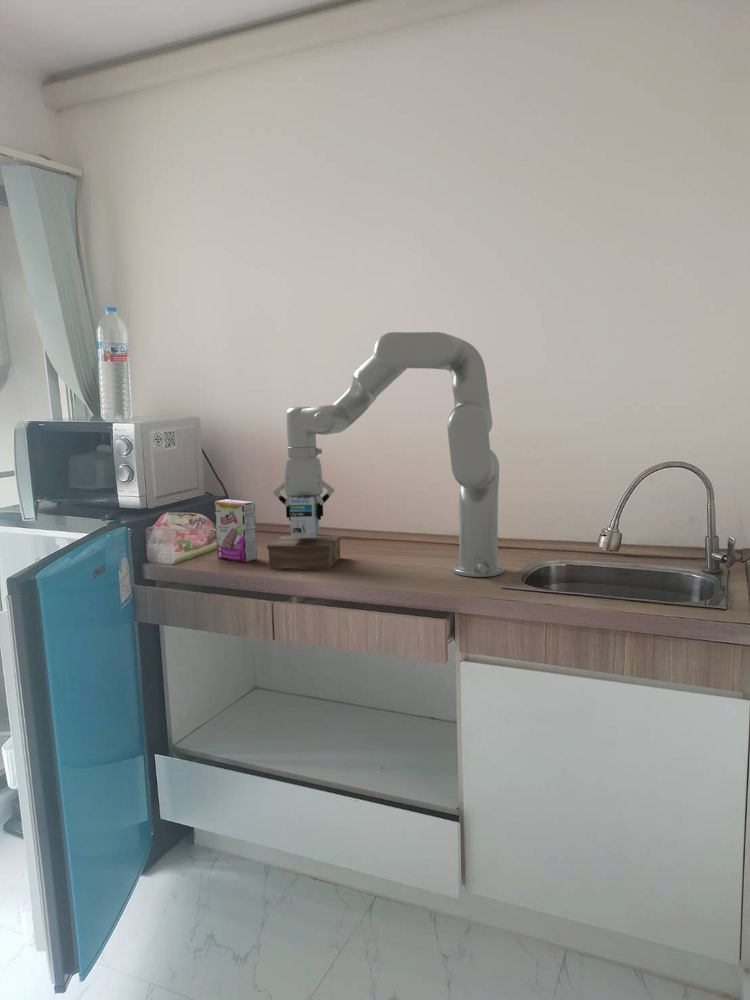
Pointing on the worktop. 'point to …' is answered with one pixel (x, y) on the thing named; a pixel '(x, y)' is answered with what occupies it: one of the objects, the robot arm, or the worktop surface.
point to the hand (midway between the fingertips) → (304, 519)
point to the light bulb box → (304, 517)
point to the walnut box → (304, 552)
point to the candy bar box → (236, 530)
